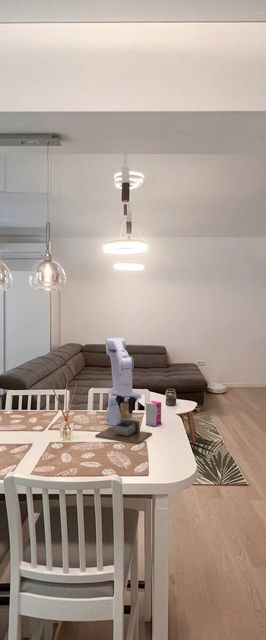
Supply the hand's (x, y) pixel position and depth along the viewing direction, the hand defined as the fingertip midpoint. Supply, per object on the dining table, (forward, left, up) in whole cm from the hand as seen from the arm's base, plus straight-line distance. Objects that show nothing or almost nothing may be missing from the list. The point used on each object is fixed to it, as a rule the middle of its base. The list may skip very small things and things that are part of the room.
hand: (126, 412), depth 177 cm
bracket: (-1, -1, -10) cm, 10 cm away
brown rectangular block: (0, 0, -2) cm, 2 cm away
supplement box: (+4, +20, -11) cm, 23 cm away
